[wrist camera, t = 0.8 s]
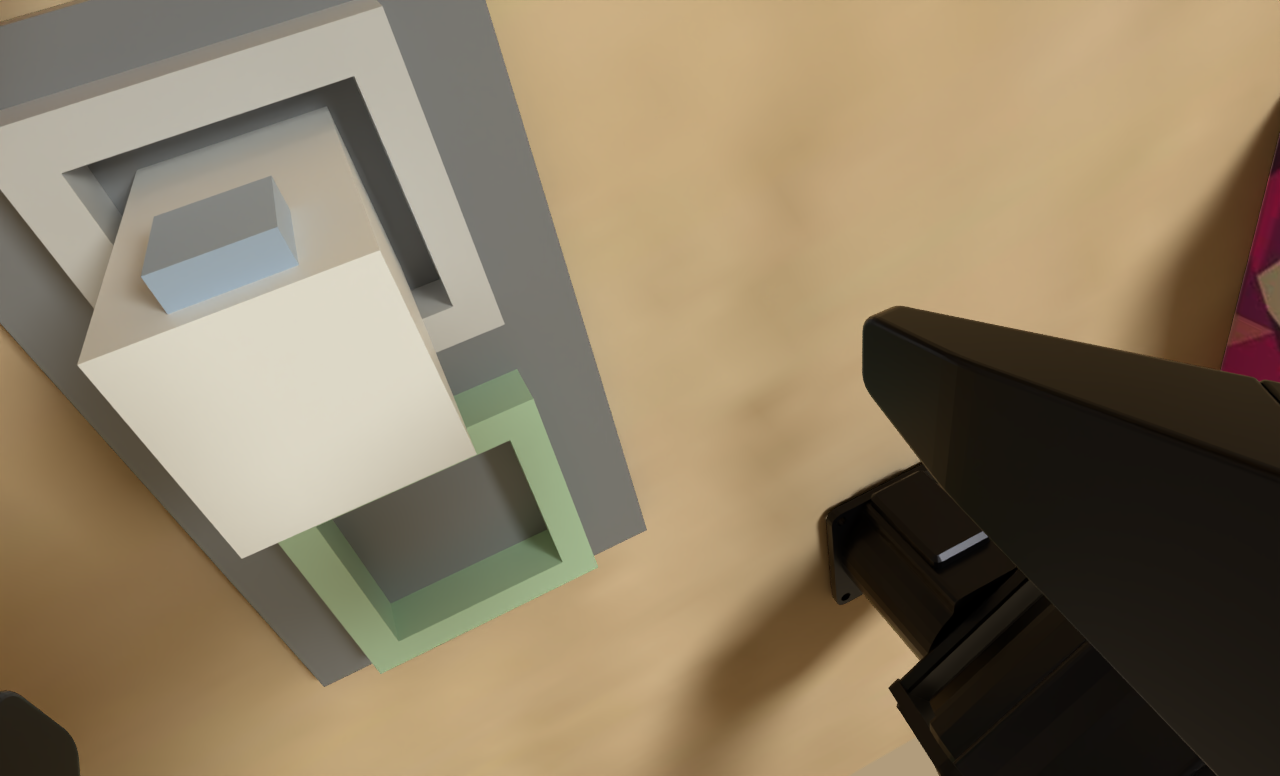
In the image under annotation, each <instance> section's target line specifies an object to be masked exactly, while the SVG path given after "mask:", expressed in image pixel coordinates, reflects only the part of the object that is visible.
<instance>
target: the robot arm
mask: <svg viewBox="0 0 1280 776" xmlns="http://www.w3.org/2000/svg"><path fill="white" fill-rule="evenodd" d="M862 375H863V380H864V384H865V386H866V389H867V390H868V392H869V394H870V395H871V397H872V398H873V399H874V401H875V402H876V403H877V405H878V406H879V407H880V409H881V410H882V411H883V412H884V414H885V415H886V416H887V418H888V419H889V420H890V422H891V423H892V424H893V425H894V427H895V428H896V429H897V431H898V432H899V433H900V435H901V436H902V437H903V438H904V440H905V441H906V442H907V444H908V445H909V446H910V448H911V449H912V450H913V451H914V453H915V454H916V455H917V457H918V458H919V459H920V461H921V462H922V463H923V464H921V465H920V466H918V467H916V468H914V469H912V470H910V471H908V472H906V473H904V474H902V475H900V476H898V477H896V478H894V479H892V480H890V481H888V482H886V483H884V484H882V485H880V486H878V487H876V488H874V489H872V490H870V491H868V492H866V493H864V494H862V495H860V496H858V497H856V498H855V499H853V500H851V501H849V502H847V503H845V504H843V505H841V506H839V507H837V508H835V509H834V510H832V511H831V512H830V513H829V514H828V516H827V519H826V524H827V537H828V550H829V563H830V576H831V589H832V597H833V598H834V600H835V601H836V602H837V603H838V604H839V605H842V604H845V603H847V602H849V601H851V600H853V599H855V598H857V597H858V596H860V595H862V594H864V595H865V597H866V598H867V599H868V600H869V601H870V602H871V604H872V605H873V606H874V607H875V608H876V610H877V611H878V612H879V613H880V614H881V615H882V617H883V618H884V619H885V620H886V621H887V622H888V624H889V625H890V626H891V627H892V628H893V630H894V631H895V632H896V633H897V634H898V635H899V637H900V638H901V639H902V640H903V641H904V642H905V644H906V645H907V646H908V647H909V648H910V650H911V651H912V652H913V653H914V654H915V655H916V657H917V658H918V659H919V660H920V661H919V662H918V663H917V664H916V665H915V666H914V667H913V668H912V669H911V670H910V671H909V672H908V673H907V674H906V675H905V676H904V677H902V678H901V679H897V680H896V681H895V682H894V683H893V684H892V685H891V686H890V687H889V690H890V691H891V693H892V694H893V696H894V698H895V699H896V701H897V702H898V704H897V708H898V709H899V711H900V712H901V714H902V715H903V717H904V718H905V720H906V722H907V723H908V725H909V726H910V728H911V729H912V731H913V733H914V734H915V736H916V737H917V739H918V740H919V742H920V744H921V745H922V747H923V748H924V750H925V751H926V753H927V754H928V756H929V758H930V759H931V760H932V762H933V764H934V766H935V768H936V770H937V772H938V774H939V776H1280V382H1275V381H1271V380H1262V381H1260V382H1259V381H1258V380H1257V379H1256V378H1254V377H1250V376H1245V375H1240V374H1235V373H1230V372H1225V371H1220V370H1216V369H1211V368H1206V367H1201V366H1196V365H1191V364H1186V363H1181V362H1176V361H1171V360H1166V359H1161V358H1156V357H1151V356H1146V355H1142V354H1137V353H1132V352H1127V351H1122V350H1117V349H1112V348H1107V347H1102V346H1097V345H1092V344H1087V343H1082V342H1077V341H1072V340H1068V339H1063V338H1058V337H1053V336H1048V335H1043V334H1038V333H1033V332H1028V331H1023V330H1018V329H1013V328H1008V327H1003V326H998V325H994V324H989V323H984V322H979V321H974V320H969V319H964V318H959V317H954V316H949V315H944V314H939V313H934V312H929V311H924V310H920V309H915V308H910V307H905V306H895V307H891V308H889V309H886V310H884V311H882V312H880V313H877V314H875V315H873V316H870V317H869V318H868V319H867V320H866V321H865V323H864V325H863V339H862ZM0 776H80V768H79V756H78V751H77V748H76V745H75V742H74V740H73V738H72V737H71V736H70V734H69V733H68V732H67V731H66V730H65V729H64V728H63V727H61V726H60V725H59V724H57V723H56V722H55V721H53V720H52V719H51V718H50V717H48V716H47V715H46V714H44V713H43V712H42V711H40V710H39V709H38V708H37V707H35V706H34V705H33V704H31V703H30V702H29V701H27V700H26V699H25V698H23V697H22V696H21V695H19V694H17V693H15V692H11V691H6V690H5V691H0Z"/></svg>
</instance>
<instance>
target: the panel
mask: <svg viewBox="0 0 1280 776" xmlns="http://www.w3.org/2000/svg"><path fill="white" fill-rule="evenodd" d="M326 106H327V108H328V110H329V112H330V114H331V116H332V119H333V121H334V123H335V125H336V127H337V129H338V132H339V134H340V136H341V138H342V140H343V142H344V144H345V147H346V149H347V151H348V153H349V155H350V157H351V160H352V162H353V164H354V166H355V168H356V170H357V173H358V175H359V177H360V179H361V181H362V183H363V186H364V188H365V190H366V192H367V194H368V196H369V199H370V201H371V203H372V205H373V207H374V209H375V212H376V214H377V216H378V218H379V220H380V222H381V225H382V227H383V229H384V231H385V233H386V235H387V238H388V240H389V242H390V244H391V246H392V248H393V251H394V253H395V255H396V257H397V259H398V261H399V264H400V266H401V268H402V271H403V273H404V276H405V278H406V281H407V283H408V286H409V288H410V290H411V293H412V295H413V298H414V300H415V303H416V305H417V308H418V310H419V313H420V315H421V318H422V320H423V323H424V325H425V328H426V330H427V332H428V335H429V337H430V340H431V342H432V345H433V347H434V350H435V352H436V355H437V357H438V360H439V362H440V365H441V367H442V370H443V372H444V374H445V377H446V379H447V382H448V384H449V387H450V389H451V392H452V394H453V397H454V399H455V402H456V404H457V407H458V409H459V412H460V414H461V416H462V419H463V421H464V424H465V426H466V429H467V431H468V434H469V436H470V439H471V441H472V444H473V446H474V449H475V451H476V453H477V454H476V455H474V456H472V457H470V458H467V459H465V460H463V461H461V462H458V463H456V464H454V465H452V466H449V467H447V468H445V469H443V470H440V471H438V472H436V473H434V474H431V475H429V476H427V477H425V478H422V479H420V480H418V481H416V482H413V483H411V484H409V485H407V486H404V487H402V488H400V489H398V490H395V491H393V492H391V493H389V494H386V495H384V496H382V497H380V498H377V499H375V500H373V501H371V502H368V503H366V504H364V505H362V506H359V507H357V508H355V509H353V510H350V511H348V512H346V513H344V514H341V515H339V516H337V517H335V518H332V519H330V520H328V521H326V522H323V523H321V524H319V525H317V526H314V527H312V528H310V529H308V530H305V531H303V532H301V533H299V534H296V535H294V536H292V537H290V538H287V539H285V540H283V541H281V542H278V543H276V544H274V545H272V546H269V547H267V548H265V549H263V550H260V551H258V552H256V553H254V554H251V555H249V556H247V557H245V558H242V559H241V557H240V556H239V555H238V554H237V553H236V551H235V550H234V549H233V548H232V547H231V546H230V544H229V543H228V542H227V541H226V540H225V539H224V537H223V536H222V535H221V534H220V533H219V531H218V530H217V529H216V528H215V527H214V526H213V524H212V523H211V522H210V521H209V520H208V518H207V517H206V516H205V515H204V514H203V513H202V511H201V510H200V509H199V508H198V507H197V506H196V504H195V503H194V502H193V501H192V500H191V498H190V497H189V496H188V495H187V494H186V493H185V491H184V490H183V489H182V488H181V487H180V486H179V484H178V483H177V482H176V481H175V480H174V478H173V477H172V476H171V475H170V474H169V473H168V471H167V470H166V469H165V468H164V467H163V465H162V464H161V463H160V462H159V461H158V460H157V458H156V457H155V456H154V455H153V454H152V453H151V451H150V450H149V449H148V448H147V447H146V445H145V444H144V443H143V442H142V441H141V440H140V438H139V437H138V436H137V435H136V434H135V433H134V431H133V430H132V429H131V428H130V427H129V425H128V424H127V423H126V422H125V421H124V420H123V418H122V417H121V416H120V415H119V414H118V412H117V411H116V410H115V409H114V408H113V407H112V405H111V404H110V403H109V402H108V401H107V400H106V398H105V397H104V396H103V395H102V394H101V392H100V391H99V390H98V389H97V388H96V387H95V385H94V384H93V383H92V382H91V381H90V379H89V378H88V377H87V376H86V375H85V374H84V372H83V371H82V370H81V369H80V368H79V367H78V365H77V364H78V361H79V357H80V354H81V351H82V348H83V344H84V341H85V338H86V335H87V331H88V328H89V325H90V321H91V318H92V315H93V312H94V308H95V305H96V302H97V299H98V295H99V292H100V289H101V286H102V282H103V279H104V276H105V272H106V269H107V266H108V263H109V259H110V256H111V253H112V250H113V246H114V243H115V240H116V236H117V233H118V230H119V227H120V223H121V220H122V217H123V214H124V210H125V207H126V204H127V201H128V197H129V194H130V191H131V187H132V184H133V181H134V178H135V174H136V171H137V170H139V169H142V168H145V167H148V166H151V165H154V164H157V163H160V162H163V161H166V160H169V159H172V158H175V157H178V156H181V155H184V154H186V153H189V152H192V151H195V150H198V149H201V148H204V147H207V146H210V145H213V144H216V143H219V142H222V141H225V140H228V139H231V138H234V137H237V136H240V135H243V134H246V133H249V132H252V131H255V130H258V129H261V128H264V127H267V126H270V125H272V124H275V123H278V122H281V121H284V120H287V119H290V118H293V117H296V116H299V115H302V114H305V113H308V112H311V111H314V110H317V109H320V108H323V107H326ZM0 323H1V325H2V326H3V327H4V328H5V329H6V330H7V331H8V332H9V334H10V335H11V336H12V337H13V338H14V339H15V340H16V341H17V343H18V344H19V345H20V346H21V347H22V348H23V349H24V350H25V351H26V353H27V354H28V355H29V356H30V357H31V358H32V359H33V360H34V362H35V363H36V364H37V365H38V366H39V367H40V368H41V369H42V371H43V372H44V373H45V374H46V375H47V376H48V377H49V378H50V380H51V381H52V382H53V383H54V384H55V385H56V386H57V387H58V389H59V390H60V391H61V392H62V393H63V394H64V395H65V396H66V398H67V399H68V400H69V401H70V402H71V403H72V404H73V405H74V407H75V408H76V409H77V410H78V411H79V412H80V413H81V414H82V415H83V417H84V418H85V419H86V420H87V421H88V422H89V423H90V424H91V426H92V427H93V428H94V429H95V430H96V431H97V432H98V433H99V435H100V436H101V437H102V438H103V439H104V440H105V441H106V442H107V444H108V445H109V446H110V447H111V448H112V449H113V450H114V451H115V453H116V454H117V455H118V456H119V457H120V458H121V459H122V460H123V462H124V463H125V464H126V465H127V466H128V467H129V468H130V469H131V471H132V472H133V473H134V474H135V475H136V476H137V477H138V478H139V479H140V481H141V482H142V483H143V484H144V485H145V486H146V487H147V488H148V490H149V491H150V492H151V493H152V494H153V495H154V496H155V497H156V499H157V500H158V501H159V502H160V503H161V504H162V505H163V506H164V508H165V509H166V510H167V511H168V512H169V513H170V514H171V515H172V517H173V518H174V519H175V520H176V521H177V522H178V523H179V524H180V526H181V527H182V528H183V529H184V530H185V531H186V532H187V533H188V535H189V536H190V537H191V538H192V539H193V540H194V541H195V542H196V544H197V545H198V546H199V547H200V548H201V549H202V550H203V551H204V552H205V554H206V555H207V556H208V557H209V558H210V559H211V560H212V561H213V563H214V564H215V565H216V566H217V567H218V568H219V569H220V570H221V572H222V573H223V574H224V575H225V576H226V577H227V578H228V579H229V581H230V582H231V583H232V584H233V585H234V586H235V587H236V588H237V590H238V591H239V592H240V593H241V594H242V595H243V596H244V597H245V599H246V600H247V601H248V602H249V603H250V604H251V605H252V606H253V608H254V609H255V610H256V611H257V612H258V613H259V614H260V615H261V616H262V618H263V619H264V620H265V621H266V622H267V623H268V624H269V625H270V627H271V628H272V629H273V630H274V631H275V632H276V633H277V634H278V636H279V637H280V638H281V639H282V640H283V641H284V642H285V643H286V645H287V646H288V647H289V648H290V649H291V650H292V651H293V652H294V654H295V655H296V656H297V657H298V658H299V659H300V660H301V661H302V663H303V664H304V665H305V666H306V667H307V668H308V669H309V670H310V672H311V673H312V674H313V675H314V676H315V677H316V678H317V679H318V680H319V682H320V683H321V684H322V685H323V686H324V687H325V686H327V685H329V684H331V683H333V682H336V681H338V680H340V679H342V678H344V677H346V676H348V675H350V674H352V673H354V672H356V671H358V670H360V669H362V668H364V667H366V666H368V665H370V664H373V665H374V666H375V667H376V669H377V670H378V671H379V672H380V674H382V673H384V672H386V671H388V670H390V669H392V668H394V667H396V666H398V665H400V664H402V663H404V662H406V661H408V660H410V659H412V658H414V657H416V656H418V655H421V654H423V653H425V652H427V651H429V650H431V649H433V648H435V647H437V646H439V645H441V644H443V643H445V642H447V641H449V640H451V639H453V638H455V637H457V636H459V635H461V634H463V633H465V632H467V631H469V630H471V629H474V628H476V627H478V626H480V625H482V624H484V623H486V622H488V621H490V620H492V619H494V618H496V617H498V616H500V615H502V614H504V613H506V612H508V611H510V610H512V609H514V608H516V607H518V606H520V605H522V604H524V603H526V602H529V601H531V600H533V599H535V598H537V597H539V596H541V595H543V594H545V593H547V592H549V591H551V590H553V589H555V588H557V587H559V586H561V585H563V584H565V583H567V582H569V581H571V580H573V579H575V578H577V577H579V576H582V575H584V574H586V573H588V572H590V571H592V570H594V569H596V568H598V565H597V563H596V560H595V558H594V555H596V554H598V553H601V552H603V551H605V550H607V549H609V548H611V547H613V546H615V545H617V544H619V543H621V542H623V541H625V540H627V539H629V538H631V537H633V536H635V535H637V534H640V533H642V532H644V531H646V530H647V529H646V526H645V522H644V519H643V516H642V512H641V509H640V506H639V503H638V499H637V496H636V493H635V490H634V486H633V483H632V480H631V476H630V473H629V470H628V467H627V463H626V460H625V457H624V453H623V450H622V447H621V444H620V440H619V437H618V434H617V430H616V427H615V424H614V421H613V417H612V414H611V411H610V408H609V404H608V401H607V398H606V394H605V391H604V388H603V385H602V381H601V378H600V375H599V371H598V368H597V365H596V362H595V358H594V355H593V352H592V348H591V345H590V342H589V339H588V335H587V332H586V329H585V325H584V322H583V319H582V316H581V312H580V309H579V306H578V303H577V299H576V296H575V293H574V289H573V286H572V283H571V280H570V276H569V273H568V270H567V266H566V263H565V260H564V257H563V253H562V250H561V247H560V243H559V240H558V237H557V234H556V230H555V227H554V224H553V221H552V217H551V214H550V211H549V207H548V204H547V201H546V198H545V194H544V191H543V188H542V184H541V181H540V178H539V175H538V171H537V168H536V165H535V161H534V158H533V155H532V152H531V148H530V145H529V142H528V138H527V135H526V132H525V129H524V125H523V122H522V119H521V116H520V112H519V109H518V106H517V102H516V99H515V96H514V93H513V89H512V86H511V83H510V79H509V76H508V73H507V70H506V66H505V63H504V60H503V56H502V53H501V50H500V47H499V43H498V40H497V37H496V34H495V30H494V27H493V24H492V20H491V17H490V14H489V11H488V7H487V4H486V1H485V0H74V1H71V2H68V3H64V4H61V5H57V6H54V7H50V8H47V9H43V10H40V11H37V12H33V13H30V14H26V15H23V16H19V17H16V18H13V19H9V20H6V21H2V22H0Z"/></svg>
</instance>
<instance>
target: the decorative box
mask: <svg viewBox="0 0 1280 776" xmlns="http://www.w3.org/2000/svg"><path fill="white" fill-rule="evenodd" d="M1220 371H1225V372H1230V373H1235V374H1240V375H1245V376H1250V377H1254V378H1256V379H1257V380H1258V381H1259V382H1260V381H1262V380H1271V381H1275V382H1280V134H1279V138H1278V142H1277V146H1276V150H1275V154H1274V158H1273V162H1272V166H1271V170H1270V174H1269V178H1268V182H1267V186H1266V190H1265V194H1264V198H1263V202H1262V206H1261V210H1260V214H1259V218H1258V222H1257V226H1256V230H1255V234H1254V238H1253V242H1252V246H1251V250H1250V254H1249V258H1248V262H1247V266H1246V270H1245V274H1244V278H1243V282H1242V286H1241V290H1240V294H1239V298H1238V302H1237V306H1236V310H1235V314H1234V318H1233V322H1232V326H1231V330H1230V334H1229V338H1228V342H1227V346H1226V350H1225V354H1224V358H1223V362H1222V366H1221V370H1220Z"/></svg>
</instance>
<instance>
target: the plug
mask: <svg viewBox="0 0 1280 776" xmlns="http://www.w3.org/2000/svg"><path fill="white" fill-rule="evenodd" d="M77 365H78V367H79V368H80V369H81V370H82V371H83V372H84V374H85V375H86V376H87V377H88V378H89V379H90V381H91V382H92V383H93V384H94V385H95V387H96V388H97V389H98V390H99V391H100V392H101V394H102V395H103V396H104V397H105V398H106V400H107V401H108V402H109V403H110V404H111V405H112V407H113V408H114V409H115V410H116V411H117V412H118V414H119V415H120V416H121V417H122V418H123V420H124V421H125V422H126V423H127V424H128V425H129V427H130V428H131V429H132V430H133V431H134V433H135V434H136V435H137V436H138V437H139V438H140V440H141V441H142V442H143V443H144V444H145V445H146V447H147V448H148V449H149V450H150V451H151V453H152V454H153V455H154V456H155V457H156V458H157V460H158V461H159V462H160V463H161V464H162V465H163V467H164V468H165V469H166V470H167V471H168V473H169V474H170V475H171V476H172V477H173V478H174V480H175V481H176V482H177V483H178V484H179V486H180V487H181V488H182V489H183V490H184V491H185V493H186V494H187V495H188V496H189V497H190V498H191V500H192V501H193V502H194V503H195V504H196V506H197V507H198V508H199V509H200V510H201V511H202V513H203V514H204V515H205V516H206V517H207V518H208V520H209V521H210V522H211V523H212V524H213V526H214V527H215V528H216V529H217V530H218V531H219V533H220V534H221V535H222V536H223V537H224V539H225V540H226V541H227V542H228V543H229V544H230V546H231V547H232V548H233V549H234V550H235V551H236V553H237V554H238V555H239V556H240V557H241V559H242V558H245V557H247V556H249V555H251V554H254V553H256V552H258V551H260V550H263V549H265V548H267V547H269V546H272V545H274V544H276V543H278V542H281V541H283V540H285V539H287V538H290V537H292V536H294V535H296V534H299V533H301V532H303V531H305V530H308V529H310V528H312V527H314V526H317V525H319V524H321V523H323V522H326V521H328V520H330V519H332V518H335V517H337V516H339V515H341V514H344V513H346V512H348V511H350V510H353V509H355V508H357V507H359V506H362V505H364V504H366V503H368V502H371V501H373V500H375V499H377V498H380V497H382V496H384V495H386V494H389V493H391V492H393V491H395V490H398V489H400V488H402V487H404V486H407V485H409V484H411V483H413V482H416V481H418V480H420V479H422V478H425V477H427V476H429V475H431V474H434V473H436V472H438V471H440V470H443V469H445V468H447V467H449V466H452V465H454V464H456V463H458V462H461V461H463V460H465V459H467V458H470V457H472V456H474V455H476V454H477V453H476V451H475V449H474V446H473V444H472V441H471V439H470V436H469V434H468V431H467V429H466V426H465V424H464V421H463V419H462V416H461V414H460V412H459V409H458V407H457V404H456V402H455V399H454V397H453V394H452V392H451V389H450V387H449V384H448V382H447V379H446V377H445V374H444V372H443V370H442V367H441V365H440V362H439V360H438V357H437V355H436V352H435V350H434V347H433V345H432V342H431V340H430V337H429V335H428V332H427V330H426V328H425V325H424V323H423V320H422V318H421V315H420V313H419V310H418V308H417V305H416V303H415V300H414V298H413V295H412V293H411V290H410V288H409V286H408V283H407V281H406V278H405V276H404V273H403V271H402V268H401V266H400V264H399V261H398V259H397V257H396V255H395V253H394V251H393V248H392V246H391V244H390V242H389V240H388V238H387V235H386V233H385V231H384V229H383V227H382V225H381V222H380V220H379V218H378V216H377V214H376V212H375V209H374V207H373V205H372V203H371V201H370V199H369V196H368V194H367V192H366V190H365V188H364V186H363V183H362V181H361V179H360V177H359V175H358V173H357V170H356V168H355V166H354V164H353V162H352V160H351V157H350V155H349V153H348V151H347V149H346V147H345V144H344V142H343V140H342V138H341V136H340V134H339V132H338V129H337V127H336V125H335V123H334V121H333V119H332V116H331V114H330V112H329V110H328V108H327V106H326V107H323V108H320V109H317V110H314V111H311V112H308V113H305V114H302V115H299V116H296V117H293V118H290V119H287V120H284V121H281V122H278V123H275V124H272V125H270V126H267V127H264V128H261V129H258V130H255V131H252V132H249V133H246V134H243V135H240V136H237V137H234V138H231V139H228V140H225V141H222V142H219V143H216V144H213V145H210V146H207V147H204V148H201V149H198V150H195V151H192V152H189V153H186V154H184V155H181V156H178V157H175V158H172V159H169V160H166V161H163V162H160V163H157V164H154V165H151V166H148V167H145V168H142V169H139V170H137V171H136V174H135V178H134V181H133V184H132V187H131V191H130V194H129V197H128V201H127V204H126V207H125V210H124V214H123V217H122V220H121V223H120V227H119V230H118V233H117V236H116V240H115V243H114V246H113V250H112V253H111V256H110V259H109V263H108V266H107V269H106V272H105V276H104V279H103V282H102V286H101V289H100V292H99V295H98V299H97V302H96V305H95V308H94V312H93V315H92V318H91V321H90V325H89V328H88V331H87V335H86V338H85V341H84V344H83V348H82V351H81V354H80V357H79V361H78V364H77Z"/></svg>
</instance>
